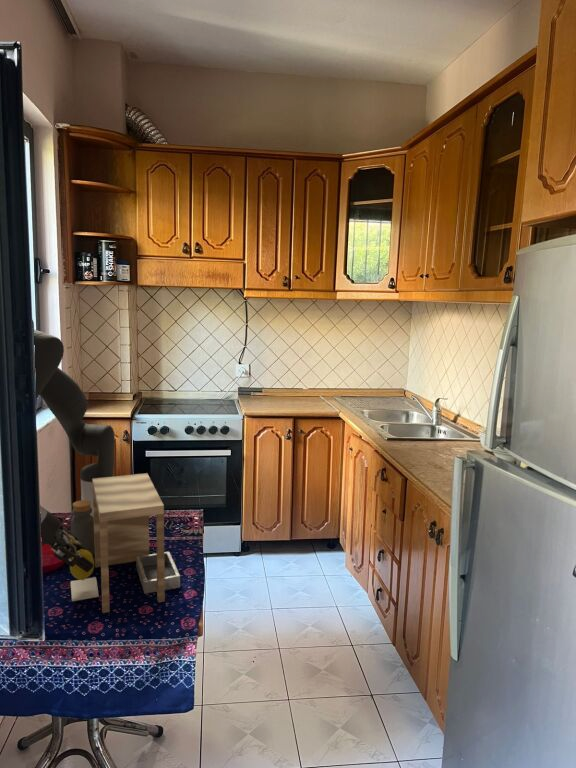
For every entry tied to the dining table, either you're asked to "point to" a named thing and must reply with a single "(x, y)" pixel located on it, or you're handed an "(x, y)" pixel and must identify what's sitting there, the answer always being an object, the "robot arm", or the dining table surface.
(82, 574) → the lemon
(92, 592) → the pad
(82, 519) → the bottle
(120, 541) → the small wooden table
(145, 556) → the open rectangular box
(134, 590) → the dining table surface
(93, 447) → the robot arm
